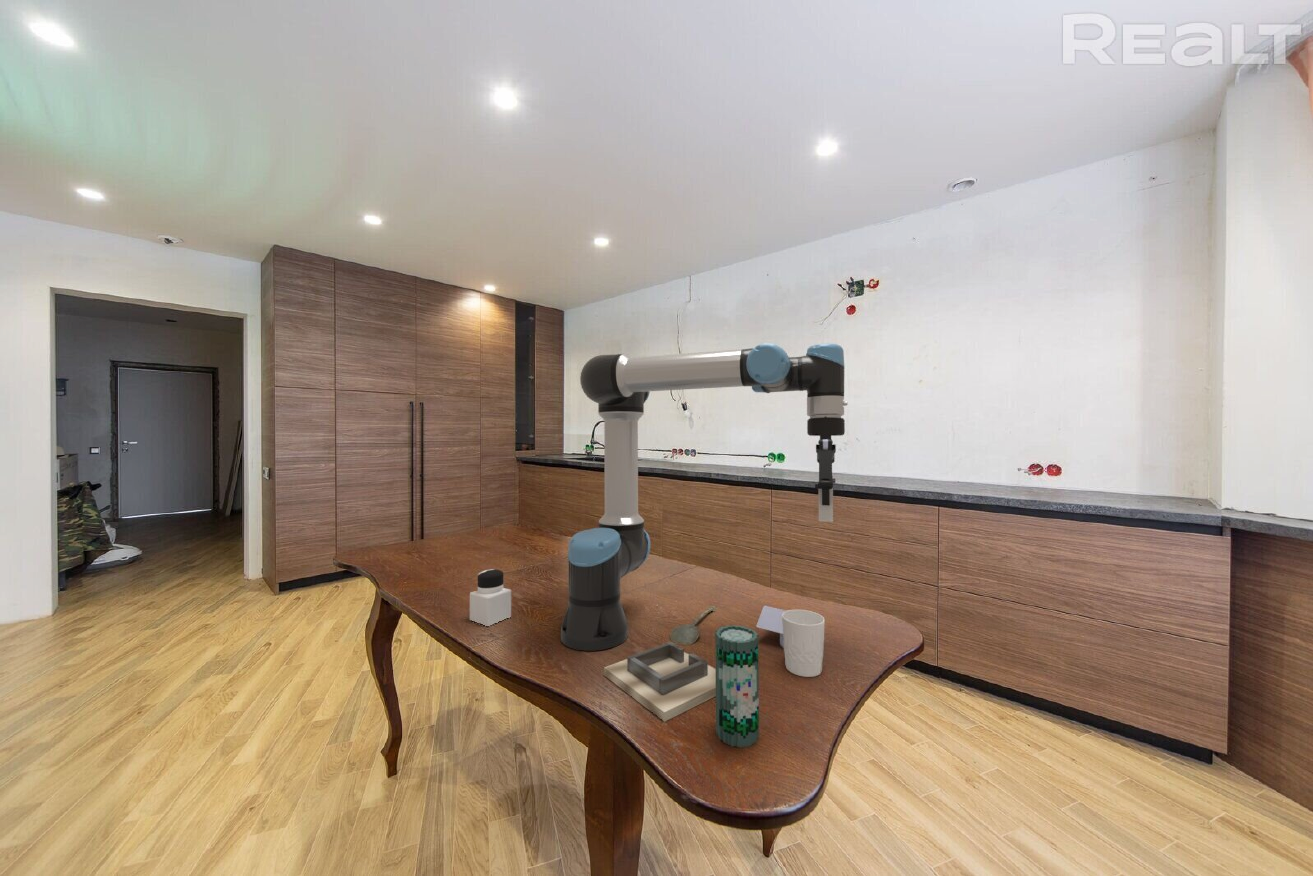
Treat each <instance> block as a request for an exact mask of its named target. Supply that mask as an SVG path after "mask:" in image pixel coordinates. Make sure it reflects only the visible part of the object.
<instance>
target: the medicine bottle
mask: <svg viewBox="0 0 1313 876" xmlns="http://www.w3.org/2000/svg"><path fill="white" fill-rule="evenodd" d="M510 617H511V618H512V589H509V588H506V587H504V572H503V571H502V570H500V569H495V568H494V569H493V568H492V569H486V570H482V571H481V572H479V573H478V574H477V590H474V591H470V593H469V621H470V620H472V621H475V622H477V623H481V624H483V625H485V626H484V627H486V626H489V627H491V626H490V625H492V624H494V623H497V624H498V622H499V621H502V620H504V619H506V618H509V619H510ZM506 620H507V619H506ZM504 621H505V620H504ZM502 622H503V621H502ZM477 623H476V624H477ZM499 623H500V622H499ZM483 625H482V626H483ZM494 625H495V624H494ZM492 626H493V625H492Z"/></svg>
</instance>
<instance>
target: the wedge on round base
mask: <svg viewBox="0 0 1313 876" xmlns="http://www.w3.org/2000/svg"><path fill="white" fill-rule="evenodd" d="M785 611H787V610H785V609H781V608H777V607H772V606H769V605H768V606H767V605H763V608H762V610H761V612H760V615H759V618H758V620H757V623H756V626H755V627H756V628H759V629H761V630H762V629H763V630H767V631H771V632H774V633H778V634H779V644H780V646H781V647H782V649H784V643H783V626H782V614H783V612H785ZM824 648H825V647H823V650H825V649H824Z"/></svg>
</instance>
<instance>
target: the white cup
mask: <svg viewBox="0 0 1313 876" xmlns="http://www.w3.org/2000/svg"><path fill="white" fill-rule="evenodd" d="M825 620H826V619H825V617H824V616H823V615H821V614H820V613H818V612H815V611H811V610H808V609H799V608H798V609H790V610H789V609H788V610H786V611H785V612H783V614H782V626H783V643H784V648H783V653H784V665H785V667H786V670H787V671H789V672H790V673H791V674H794V675H796V676H799V677H805V678H814V677H817V676H819V675H821V673H822V671H823V658H824V649H823V647H824V646H825ZM824 648H825V647H824Z"/></svg>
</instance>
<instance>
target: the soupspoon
mask: <svg viewBox="0 0 1313 876" xmlns="http://www.w3.org/2000/svg"><path fill="white" fill-rule="evenodd" d="M713 610H716V607H715V606H713V605H710V606H709V608H707V610H705V611H704V612H703V613H701V614H700V615H699V616H698V617H697V618H695V620H694V621H692V623H691V624H688V623H685V624H681V625H677V626H675V627H674V628H673V629H672V630H671V632H670V635H669V638H670V642H672V641H673V642H672V643H674V644H677V645H684V646H685V645H688V646H690V645H693V644H695V643H696V642H697V640H698V639H699V637H700V633H701V630H700V629H699V627H698V626H696V624H697V623H698V622H699V621H700V620H701V619H702V618H703V617H705V615H707V614H708V613H712V612H711V611H713ZM716 611H717V610H716ZM713 612H714V611H713Z"/></svg>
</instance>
